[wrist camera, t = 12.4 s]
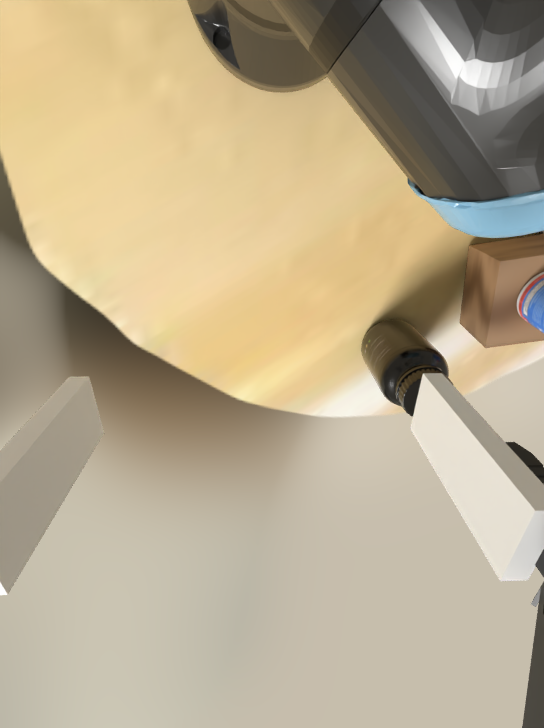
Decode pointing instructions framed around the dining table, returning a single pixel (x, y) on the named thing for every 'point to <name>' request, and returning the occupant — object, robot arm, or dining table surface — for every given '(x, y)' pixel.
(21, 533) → the robot arm
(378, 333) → the supplement bottle
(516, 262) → the walnut block
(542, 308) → the pill bottle
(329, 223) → the dining table surface
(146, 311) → the dining table surface
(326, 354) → the dining table surface
